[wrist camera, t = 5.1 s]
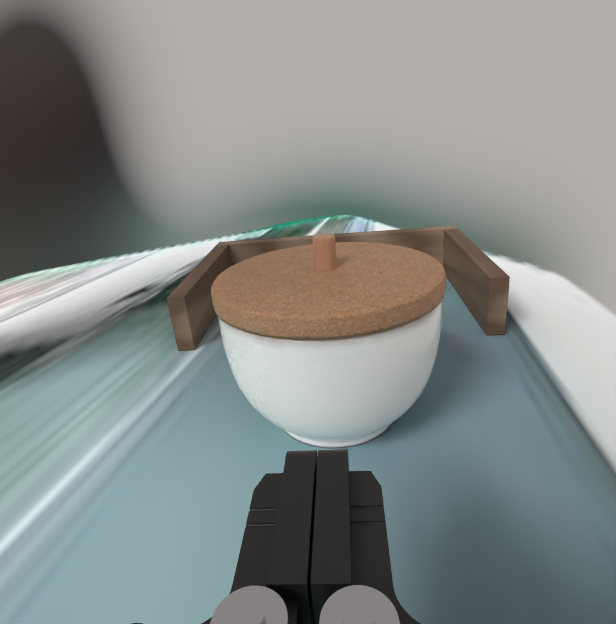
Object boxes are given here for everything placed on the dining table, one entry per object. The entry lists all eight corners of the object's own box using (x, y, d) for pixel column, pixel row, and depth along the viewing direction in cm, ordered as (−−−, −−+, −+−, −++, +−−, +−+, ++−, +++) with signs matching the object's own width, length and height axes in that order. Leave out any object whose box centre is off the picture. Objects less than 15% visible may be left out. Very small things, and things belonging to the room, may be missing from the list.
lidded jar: (359, 525, 18) (346, 292, 14) (192, 425, 24) (155, 252, 21) (477, 395, 25) (489, 219, 21) (323, 346, 32) (312, 207, 28)
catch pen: (178, 350, 33) (166, 297, 31) (225, 281, 47) (219, 242, 45) (504, 333, 31) (509, 276, 29) (452, 266, 45) (454, 225, 43)
